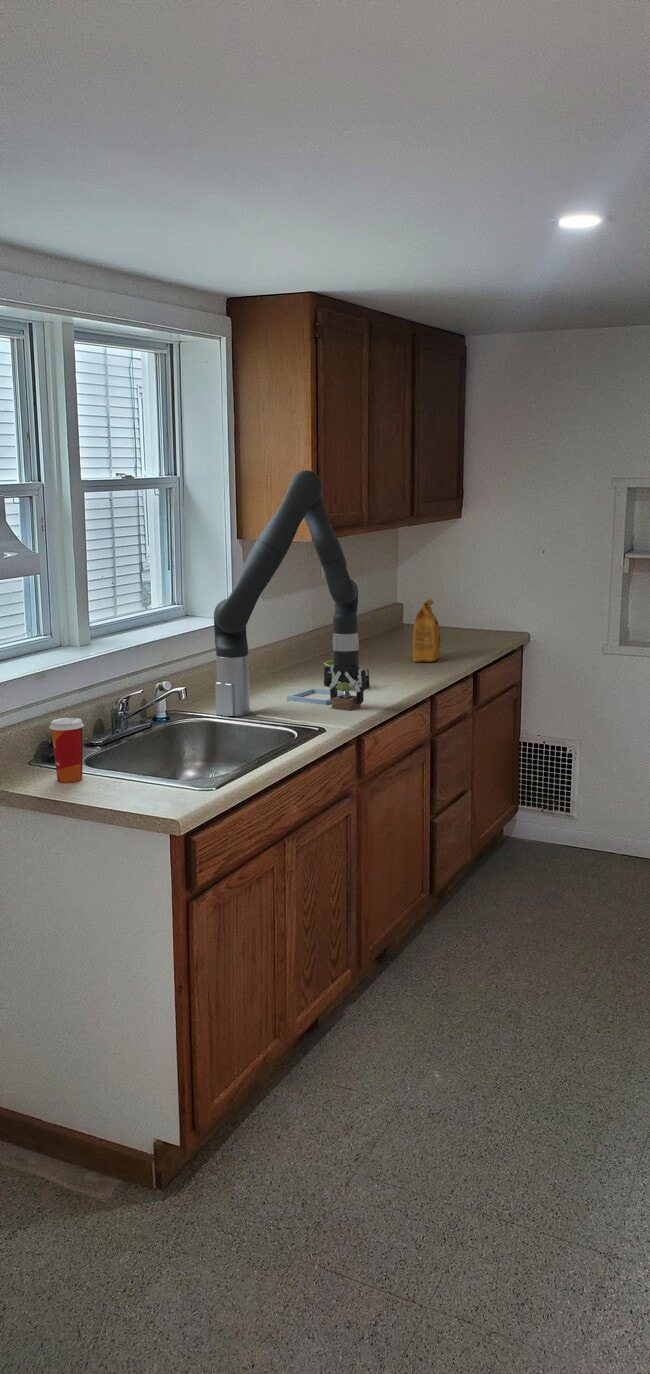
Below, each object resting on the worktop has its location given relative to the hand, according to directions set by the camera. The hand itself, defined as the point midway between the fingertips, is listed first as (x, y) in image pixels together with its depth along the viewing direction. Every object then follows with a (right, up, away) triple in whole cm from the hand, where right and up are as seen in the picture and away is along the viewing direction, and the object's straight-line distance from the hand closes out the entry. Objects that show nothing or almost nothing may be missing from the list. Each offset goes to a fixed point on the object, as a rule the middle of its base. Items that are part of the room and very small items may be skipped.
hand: (347, 702), depth 323 cm
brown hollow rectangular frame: (0, -1, 0) cm, 1 cm away
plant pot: (-2, +4, +30) cm, 31 cm away
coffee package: (+31, +14, +80) cm, 87 cm away
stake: (0, -2, 0) cm, 2 cm away
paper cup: (-66, -17, -68) cm, 96 cm away
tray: (-8, 0, +13) cm, 16 cm away
